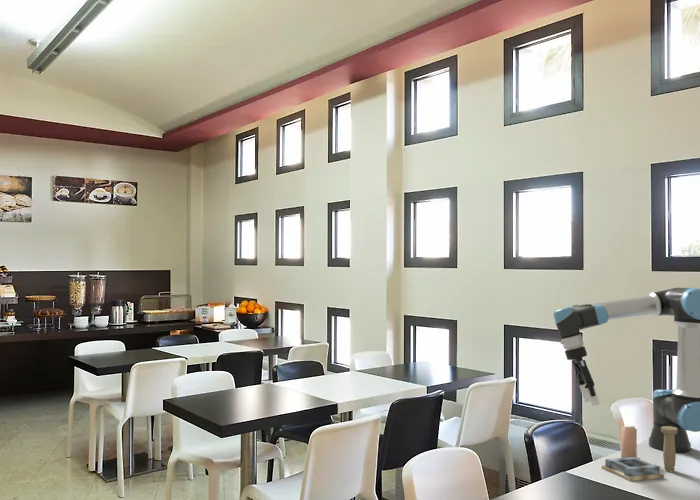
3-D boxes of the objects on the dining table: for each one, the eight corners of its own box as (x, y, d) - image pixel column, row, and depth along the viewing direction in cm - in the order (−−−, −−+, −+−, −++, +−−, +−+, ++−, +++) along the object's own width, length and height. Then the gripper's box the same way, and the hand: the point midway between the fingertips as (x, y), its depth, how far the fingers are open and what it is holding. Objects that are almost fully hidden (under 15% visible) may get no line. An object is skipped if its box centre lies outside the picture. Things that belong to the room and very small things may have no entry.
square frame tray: (634, 465, 221) (634, 455, 221) (664, 477, 208) (664, 467, 208) (601, 468, 217) (601, 458, 217) (630, 481, 204) (629, 470, 204)
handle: (680, 470, 216) (680, 428, 216) (672, 474, 212) (672, 430, 212) (666, 467, 220) (666, 425, 220) (658, 470, 216) (658, 427, 216)
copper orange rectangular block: (629, 458, 230) (629, 424, 230) (639, 462, 225) (639, 427, 225) (618, 459, 228) (618, 425, 229) (628, 463, 223) (628, 428, 224)
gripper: (559, 349, 246) (576, 402, 242) (570, 350, 221) (588, 409, 217) (578, 345, 245) (595, 397, 241) (590, 345, 220) (609, 404, 216)
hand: (592, 403), depth 229 cm, fingers open, 13 cm apart
